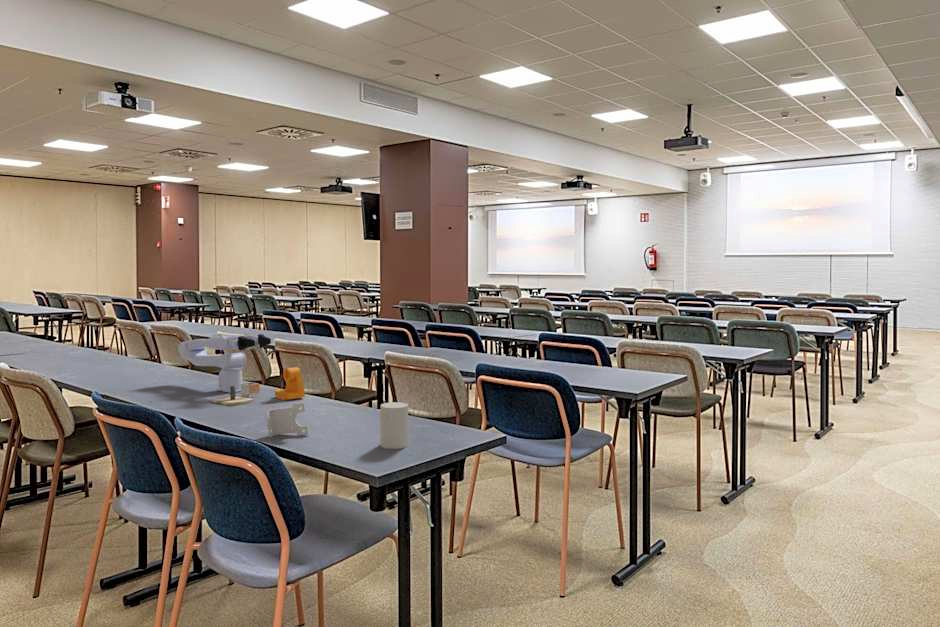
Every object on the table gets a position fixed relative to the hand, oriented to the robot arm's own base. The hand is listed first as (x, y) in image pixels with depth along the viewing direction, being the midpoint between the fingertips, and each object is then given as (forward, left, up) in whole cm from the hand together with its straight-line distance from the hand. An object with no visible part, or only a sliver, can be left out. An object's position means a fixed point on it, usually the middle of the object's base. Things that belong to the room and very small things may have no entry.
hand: (262, 342), depth 276 cm
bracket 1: (+11, +4, -22) cm, 25 cm away
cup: (+90, -24, -22) cm, 96 cm away
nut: (-4, -3, -22) cm, 22 cm away
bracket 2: (+57, -36, -22) cm, 71 cm away
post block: (0, -14, -22) cm, 26 cm away
